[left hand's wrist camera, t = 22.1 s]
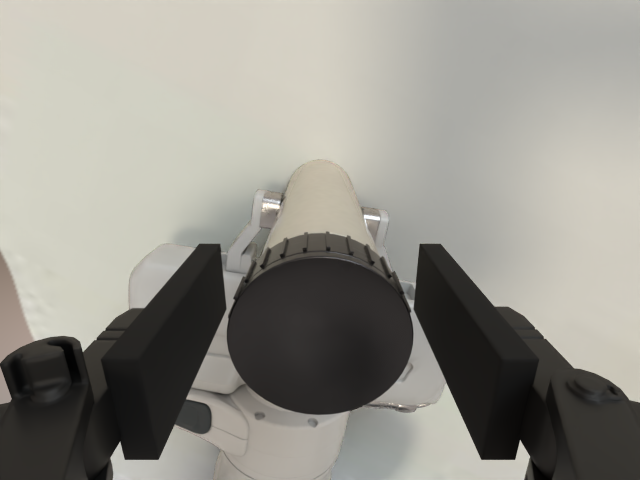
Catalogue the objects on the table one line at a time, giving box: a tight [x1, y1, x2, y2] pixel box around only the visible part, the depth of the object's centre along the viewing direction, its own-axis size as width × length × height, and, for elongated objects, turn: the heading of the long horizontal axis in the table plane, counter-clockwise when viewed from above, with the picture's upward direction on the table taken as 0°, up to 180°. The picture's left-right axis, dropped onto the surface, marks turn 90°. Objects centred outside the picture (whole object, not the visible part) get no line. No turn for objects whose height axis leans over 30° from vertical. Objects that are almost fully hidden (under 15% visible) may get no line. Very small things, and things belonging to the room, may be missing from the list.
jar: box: [261, 160, 379, 255], centre depth 19 cm, size 5×5×18 cm
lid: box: [227, 231, 414, 415], centre depth 11 cm, size 5×5×2 cm
